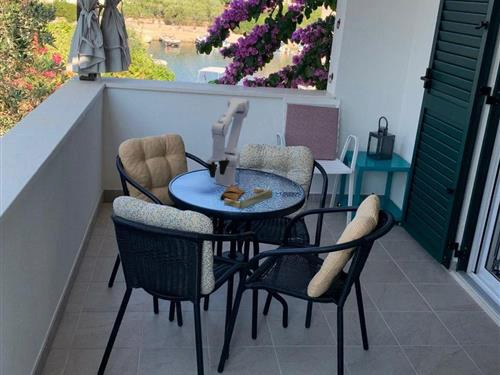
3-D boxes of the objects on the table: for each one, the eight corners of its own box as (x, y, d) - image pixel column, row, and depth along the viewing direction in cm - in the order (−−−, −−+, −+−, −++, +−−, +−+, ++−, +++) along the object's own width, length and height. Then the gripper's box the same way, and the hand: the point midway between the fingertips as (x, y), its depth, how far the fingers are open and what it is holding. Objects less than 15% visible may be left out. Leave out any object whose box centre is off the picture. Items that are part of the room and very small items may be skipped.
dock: (224, 204, 259) (224, 196, 258) (254, 192, 280) (255, 185, 279) (242, 209, 254) (242, 201, 253) (272, 196, 274) (272, 189, 273)
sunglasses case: (238, 202, 262) (231, 189, 261) (224, 208, 264) (218, 195, 263) (246, 191, 279) (240, 179, 278) (233, 197, 281) (227, 185, 280)
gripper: (216, 152, 262) (214, 180, 266) (234, 147, 274) (232, 174, 278) (204, 149, 266) (202, 177, 270) (222, 145, 278) (221, 171, 282)
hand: (217, 175), depth 274 cm, fingers open, 7 cm apart
